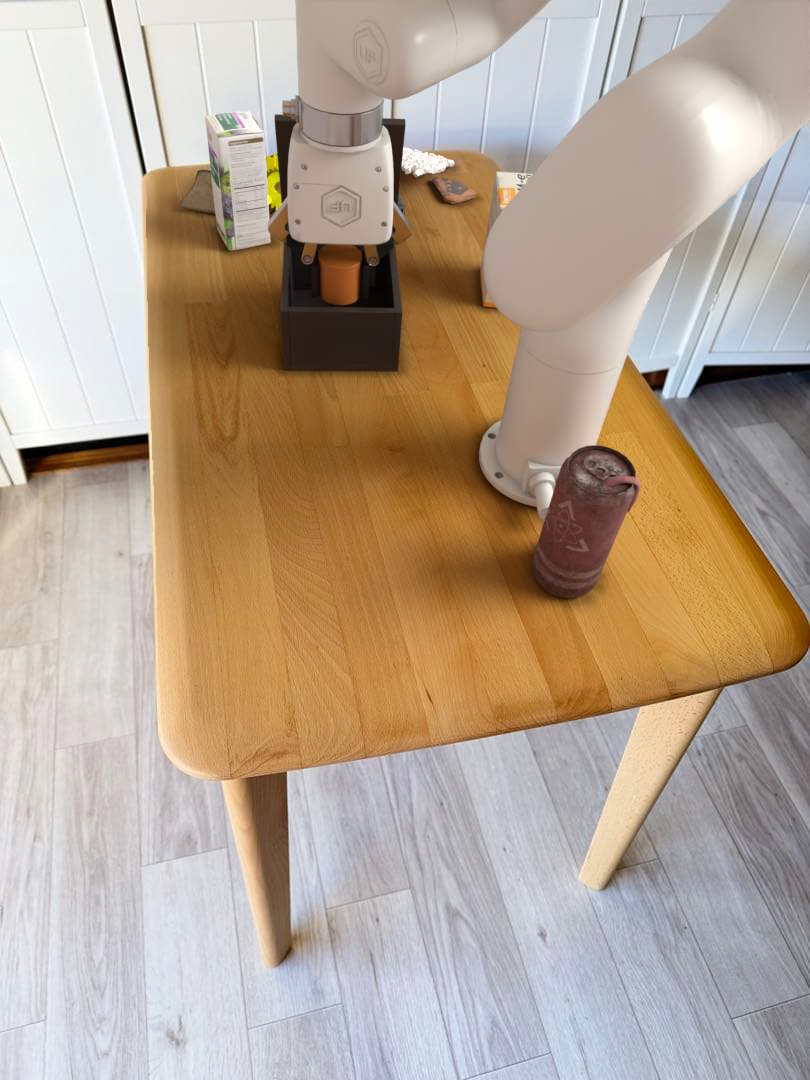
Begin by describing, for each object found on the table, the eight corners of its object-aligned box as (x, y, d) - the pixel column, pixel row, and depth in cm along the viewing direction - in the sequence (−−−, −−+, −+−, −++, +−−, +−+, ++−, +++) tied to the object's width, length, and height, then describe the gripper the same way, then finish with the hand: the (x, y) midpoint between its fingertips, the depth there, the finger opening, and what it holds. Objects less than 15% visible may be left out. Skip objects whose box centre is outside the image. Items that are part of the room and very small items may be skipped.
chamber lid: (405, 124, 79) (403, 84, 80) (274, 120, 78) (275, 79, 79) (394, 234, 93) (393, 198, 95) (283, 231, 92) (284, 195, 94)
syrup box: (215, 229, 106) (201, 114, 95) (259, 221, 108) (250, 108, 96) (229, 252, 103) (215, 137, 92) (273, 244, 105) (265, 129, 93)
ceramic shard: (257, 176, 107) (253, 173, 106) (252, 219, 108) (249, 217, 107) (187, 166, 108) (182, 163, 106) (183, 209, 109) (178, 207, 108)
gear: (287, 135, 104) (243, 173, 108) (281, 142, 102) (236, 181, 105) (327, 188, 108) (283, 223, 112) (322, 197, 105) (277, 232, 109)
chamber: (398, 371, 91) (402, 312, 85) (284, 370, 90) (280, 311, 83) (391, 293, 100) (394, 235, 94) (287, 291, 99) (284, 232, 92)
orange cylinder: (362, 305, 86) (363, 268, 83) (318, 305, 86) (317, 267, 82) (360, 280, 89) (361, 243, 85) (318, 279, 89) (317, 241, 85)
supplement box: (521, 310, 99) (542, 210, 89) (481, 308, 99) (498, 206, 89) (516, 271, 104) (536, 172, 94) (479, 269, 104) (494, 169, 94)
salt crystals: (458, 169, 121) (460, 158, 120) (420, 184, 104) (423, 170, 104) (334, 136, 124) (335, 124, 123) (279, 145, 107) (280, 132, 107)
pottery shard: (479, 192, 114) (447, 195, 112) (477, 202, 115) (446, 205, 113) (458, 171, 118) (427, 173, 116) (457, 180, 119) (426, 183, 117)
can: (597, 607, 72) (643, 505, 61) (527, 593, 73) (560, 489, 62) (601, 555, 76) (645, 449, 65) (534, 541, 77) (566, 435, 66)
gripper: (243, 133, 70) (258, 311, 84) (438, 140, 71) (420, 314, 86) (247, 93, 74) (261, 268, 89) (431, 101, 76) (415, 272, 90)
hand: (339, 289), depth 87 cm, fingers closed on orange cylinder, 4 cm apart
